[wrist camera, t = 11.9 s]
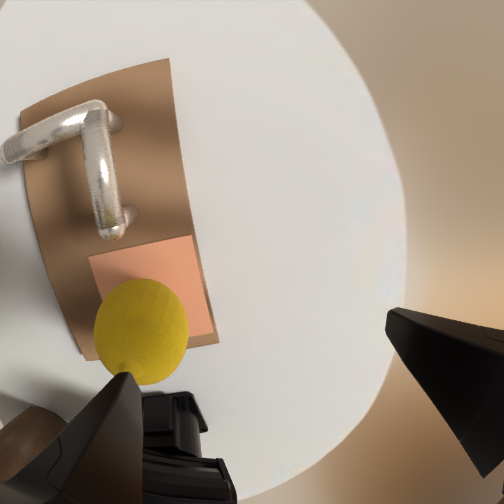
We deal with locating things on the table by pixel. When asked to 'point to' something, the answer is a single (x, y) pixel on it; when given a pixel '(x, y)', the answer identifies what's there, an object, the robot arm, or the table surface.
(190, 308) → the terracotta tile
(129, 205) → the bent wire
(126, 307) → the lemon
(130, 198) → the walnut board
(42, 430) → the plant pot
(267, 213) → the table surface
